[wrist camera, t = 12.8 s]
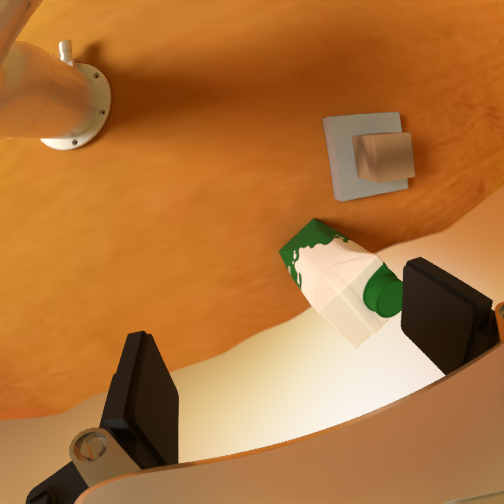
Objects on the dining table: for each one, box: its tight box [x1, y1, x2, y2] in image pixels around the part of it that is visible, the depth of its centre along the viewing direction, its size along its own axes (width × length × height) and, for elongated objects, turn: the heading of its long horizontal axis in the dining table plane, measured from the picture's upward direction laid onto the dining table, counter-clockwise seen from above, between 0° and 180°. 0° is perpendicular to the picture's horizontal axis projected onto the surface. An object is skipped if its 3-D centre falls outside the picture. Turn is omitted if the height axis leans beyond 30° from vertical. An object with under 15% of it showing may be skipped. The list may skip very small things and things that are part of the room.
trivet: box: [322, 112, 408, 202], centre depth 41 cm, size 12×12×2 cm
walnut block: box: [352, 132, 415, 183], centre depth 38 cm, size 6×6×6 cm
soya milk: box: [279, 218, 403, 348], centre depth 37 cm, size 9×9×20 cm
